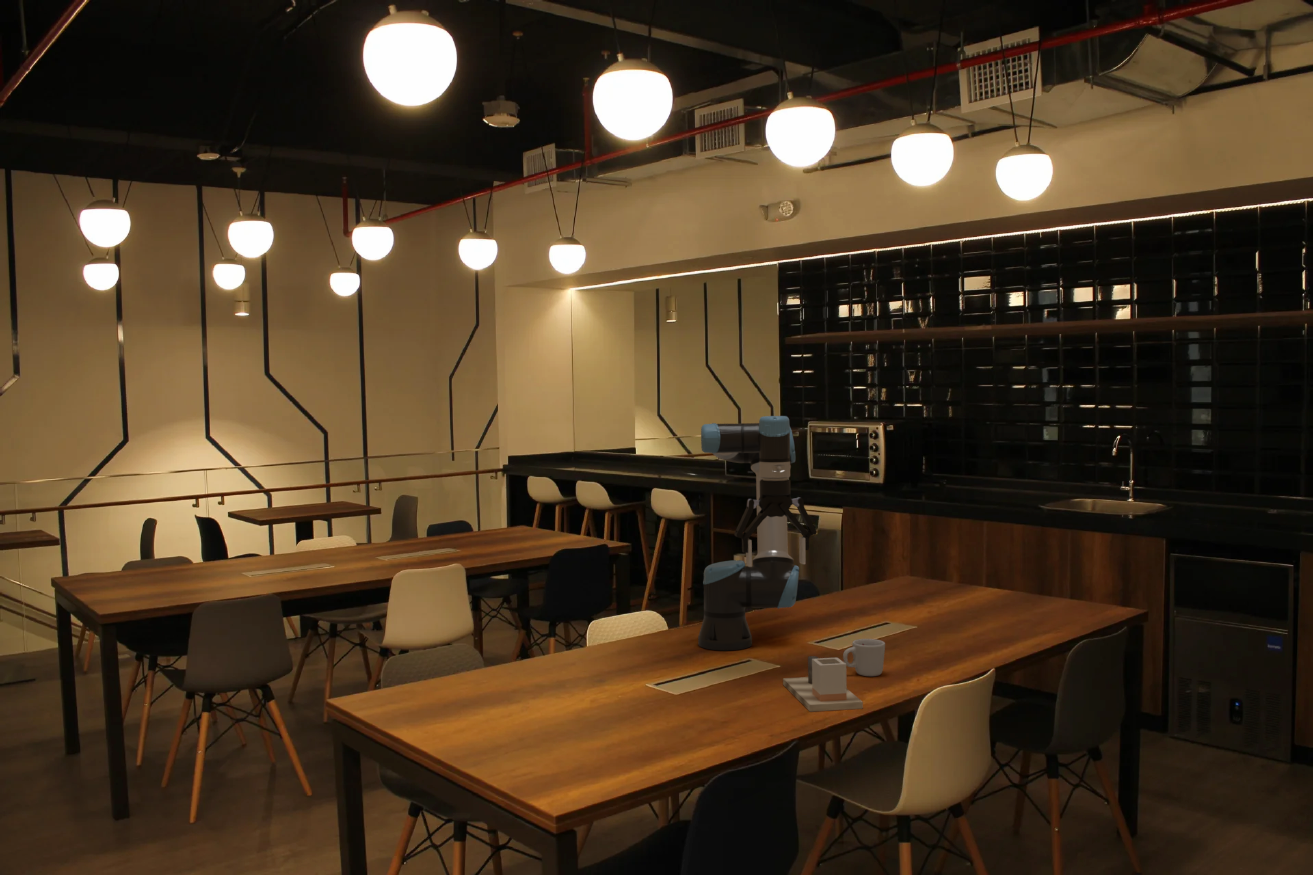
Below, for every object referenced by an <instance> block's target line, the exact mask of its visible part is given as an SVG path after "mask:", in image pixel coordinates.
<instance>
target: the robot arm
mask: <svg viewBox="0 0 1313 875" xmlns="http://www.w3.org/2000/svg"><path fill="white" fill-rule="evenodd" d="M758 421H759V422H751V423H749V422H746V423H742V422H741V423H714V422H712V423H704V424H703V425H702V426H701V427H700V429H701V430H700V432H701V433H700V440H701V442H700V445H701V451H702V452H703V453H706V454H713V456H715V457H716V458H718V459H719V460H723V461H726V462H729V463H730V462H732V463H738V464H750V469H751V471H752V472H753V473H755V475H756V476H755V481H756V482H755V484H756V499H752V498H748V499H747V500H746V508H745V510H744V512H743V514H742V516H741V519H740V520H739V523H738V525H737V527H736V529H735V531H734V536H735V537H736V538H738V539H741V551H742V553H744V554H745V560H740V559H739V560H737V559H736V560H735V559H733V560H725V561H719V562H714V563H711V564H709V565H707V566H706V567H705V568H704V571H703V581H702V584H703V619H702V624H701V626H700V630H699V633H698V640H697V642H698V643H697V644H698V646H699V647H700V648H703V649H706V650H713V651H714V650H715V651H738V650H744V649H748V648H750V647H751V646H752V645H753V637H752V636H753V635H752V634H751V630H750V627H749V624H748V621H747V618H746V609H747V608H749V609H750V608H752V609H754V608H755V609H759V608H761V609H762V608H763V609H771V608H772V609H776V608H777V609H778V610H779V609H783V608H792V607H793V606H794V605H795V604H796V600H797V595H798V584H799V574H800V567H799V566H798V565H796V564H794V560H795V559H794V558H793V557H792V556H791V555H789V548H788V545H789V544H788V543H789V542H788V541H789V540H788V539H789V537H788V520H789V521H790V523H791V524H792V525H793V526H794V527H795V528H796V530H797V531H798V532H799V533H800V534H801V536H799V537H798V538H799V539H798V543H799V544H798V549H799V550H798V552H799V559H798V560H799V563H800V564H801V565H806V561H807V560H806V551H809V550H810V538H811V536H814V535H817V529H816V528H815V526H814V524H813V522H812V519H811V517H810V516H809V514H808V512H807V509H806V507H805V504H804V503H805V501H804V499H803V498H802V497H799V496H797V497H796V498H792V497H791V480H790V479H789V478H790V477H791V468H792V466H791V464H793V463H795V462H796V450H795V441H794V435H793V431H792V428H791V426H790V419H789V417H788V416H787V415H767V416H765V415H764V416H761V417H760V418H759V420H758ZM792 505H794V507H796V508H797V510H798V512H799V514H800V517H801V519H802V520H803V523H804V525H805V527H806V528H805V527H804V526H803V525H802V524H801V522H800V521H799V520H798V519H797V518H796V517H795V515H794V513H792V511H791V510H790V508H791V507H792ZM754 509H756V517H754V519H753V521H751V523H750V524H749V525H748V523H749V521H750V518H751V516H752V514H753V512H754ZM747 525H748V527H747ZM755 531H756V532H757V536H756V538H757V539H756V540H757V542H756V544H757V554H756V555H755V557H753V555H752V554H753V552H752V550H753V549H752V548H753V545H752V541H753V540H752V539H750V537H751V536H752V535H753V533H754V532H755ZM745 562H746V563H745Z"/></svg>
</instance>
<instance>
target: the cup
mask: <svg viewBox="0 0 1313 875" xmlns="http://www.w3.org/2000/svg"><path fill="white" fill-rule="evenodd" d="M851 644H852V646H851V647H849V648H847V649H845V650H844V652H843V655H842V659H843V660H842V661H843V662H844V663H845V664H846V667H848V668H855V672H856V673H857V675H860V676H864V677H877V676H880V675H881V674H882V673H883V670H884V663H885V662H884V661H885V651H886V650H885V649H886V642H885V641H883V640H881V639H876V638H875V639H873V638H860V639H855V640H853V641H852V643H851ZM850 653H851V654H852V658H853V659H852V661H851V662H849V660H848V656H849V654H850Z"/></svg>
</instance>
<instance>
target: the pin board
mask: <svg viewBox="0 0 1313 875" xmlns="http://www.w3.org/2000/svg"><path fill="white" fill-rule="evenodd" d="M812 659H819V656H815V655H813V656H812V655H811V656H807V676H805V677H804V676H803V677H801V676H800V677H785V678H782V685H783V686H784V687H785V688H786V689H787V690H788V691H789V692H790V693H791V694H792V695H793V696H794V697H795V699H797V701H799V702H800V703H801V704H802V705H803V706H804V707H805V708H806V709H807V710H808V711H809V712H825V711H826V712H827V711H843V710H845V711H846V710H847V711H848V710H862V709H864V707H863V706H864V705H863V704H864V702H863V701H862V700H861V698H859V697H858V696H856V695H855V694H854V693H853V692H852V691H850V690H849V689H848V688H847V700H837V701H819V700H818V699H817V698H816V697H815V696H814V695H813V694H812Z"/></svg>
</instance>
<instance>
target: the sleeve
mask: <svg viewBox="0 0 1313 875" xmlns="http://www.w3.org/2000/svg"><path fill="white" fill-rule="evenodd" d="M847 689H848V688H847V666H846V664H845V663H844V660H841V659H840V658H839V657H824V658H823V657H822V658H821V657H820V658H819V657H818V659H812V694H813V695H814V696H815V697H816V698H817V699H818V700H819V701H837V700H847Z"/></svg>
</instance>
